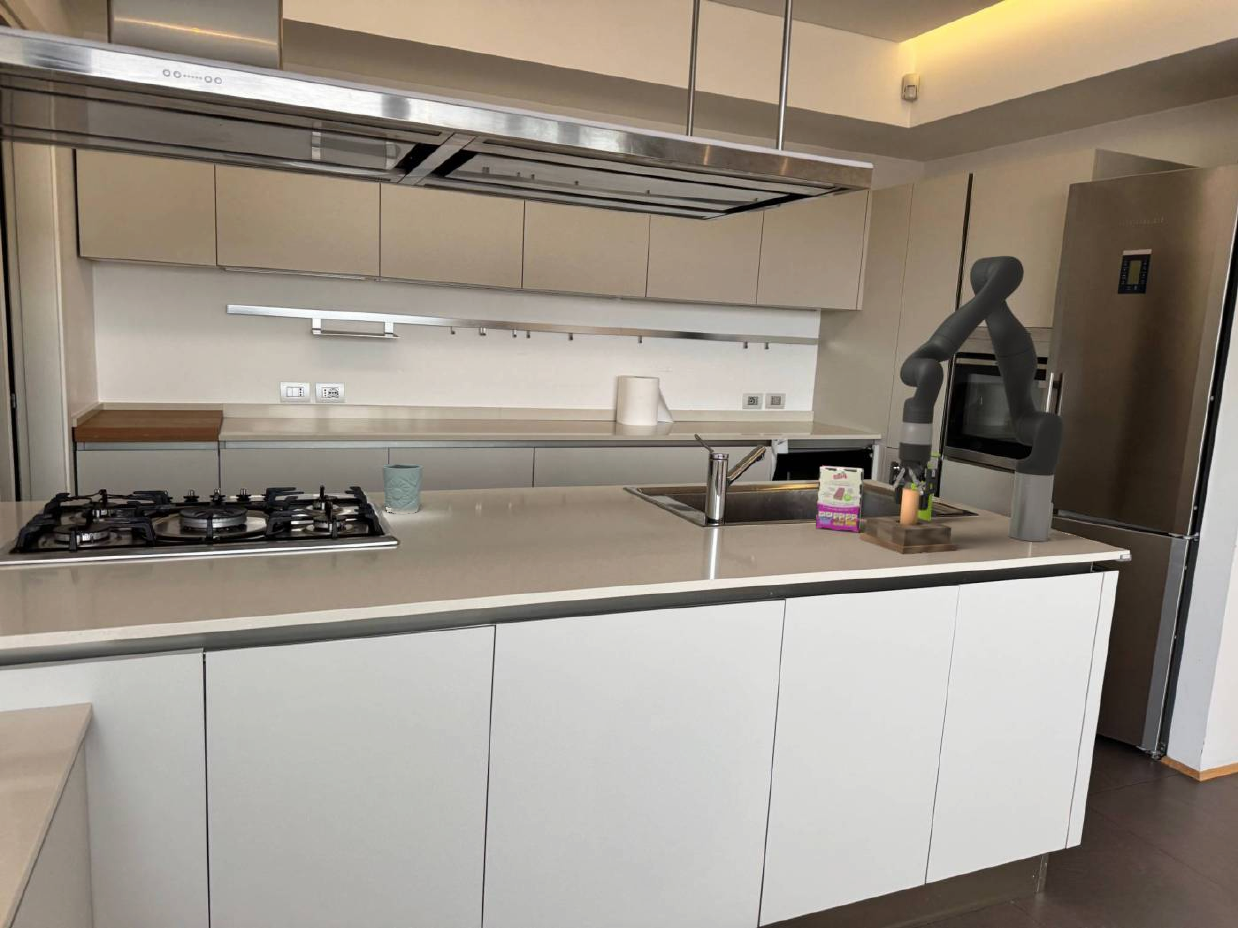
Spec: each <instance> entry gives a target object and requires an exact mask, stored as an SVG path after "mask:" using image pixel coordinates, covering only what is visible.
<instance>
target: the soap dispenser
mask: <svg viewBox="0 0 1238 928" xmlns="http://www.w3.org/2000/svg"><path fill="white" fill-rule="evenodd" d="M931 456H937V457H940V456H941V453H937V452H934V451H931ZM927 466H928V469H931V467H932V465H931V464H930V462H928V463H927ZM922 482H923V480H922ZM910 489H913V490H918V488H917V487H916V486H915V484H914V483H911V482H910ZM923 489H924V487H923ZM930 489H932V484H931V487H930ZM924 490H925V489H924ZM933 495H934V494H930V496H929V504H928V508H927V510H924V511H921V510H918V518H920V519H924V520H927V521H931V519H932V518H931V517H932V506H933Z"/></svg>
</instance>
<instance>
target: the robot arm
mask: <svg viewBox="0 0 1238 928" xmlns="http://www.w3.org/2000/svg"><path fill="white" fill-rule="evenodd" d="M1024 273H1025V270H1024V266H1023V264H1022V261H1021V260H1020V259H1019V258H1017V257H1015V256H1012V255H1000V256H990V257H989V256H987V257H982V258H979V259H977V260H976V261H974V263H973V264H972V265H971V268H970V273H969V281H970V286H971V288H972V291H973V295H974V296H973V297H972V298H971V299H970V300H969V301H967V302H966V303H965V304H963V305H962V306H961V307H959V308H958V309H956V310H955V311H954V312H953V313H951V314H950V315H948V317H946V318H945V320H943V322H941V323H940V325H939V326H938V328H937V329H935V331H934V333H933V334H932V335H931V336H930V338H929V339H928V340H927V341H926V342H924V343H923V344H922V345H920V346H919V347H918V348H917V349H916V350H915V351H913V352H912V353H910V355H909V356H907V358H906V359H905V360H904V362H903V363H902V365H901V366H900V371H899V377H900V380H901V382H902V384H904V385H905V386H908V387H910V388H911V387H912V388H916V389H915V393H914V395H913V396H912V397H908V398H906V399H905V401H904V403H903V410H902V422H901V426H900V432H899V443H898V444H899V445H898V456H897V457H898V459H899V460H897V461H896V460H893V461H891V462H890V468H889V475H888V485H890V486H893V488H894V493H893V495H894V496H893V501H894V502H893V503H894V504H895V505H902V494H903V489H905V487H906V485H907V484H908V483H910V484H911V483H914V484H915V486H916V487H917V488H918V490H919V493H920V495H919V504H918V510H921V511H924V510H927V508H928V504H929V496H930V494H933V495H934V494H937V490H938V471H939V470H938V468H930V469H928V466H927V463H930V461H931V460H932V455H931V452H933V451H932V450H933V440H934V439H933V437H934V426H933V425H934V413H935V412H934V411H935V405H936V402H937V401H938V397H939V395H940V392H941V389H942V386H943V382H944V377H945V376H944V375H945V371H944V367H943V365H942V363H943V362H947V361H950V360H951V359H952V358H953V357H954V356H955V355H956V354H957V352H958V351H959V350H960V348H961V347H962V346H963V344H964V343H966V341H967V340H968V338H970V336H971V335H972V334H973V332H974V331H975V330H976V329H977V328H978V327H979V325H981V324H982V323H983V322H985V325H986V328H987V333H988V335H989V338H990V341H991V344H992V349H993V353H994V356H995V361H996V364H997V367H998V370H999V373H1000V378H1001V380H1002V385H1003V388H1004V389H1003V390H1004V392H1005V397H1006V401H1007V407H1008V413H1009V419H1010V427H1011V429H1012V430H1011V431H1012V433H1013V436H1014V438H1015V439H1016V441H1017V442H1018V443H1020V444H1022V445H1023V446H1029V447H1032V448H1031V453H1030V455H1029V456H1026V457H1025V458H1021V459H1018V460H1017V461H1016V464H1015V470H1014V481H1013V488H1012V489H1013V491H1012V500H1011V506H1010V507H1011V508H1010V516H1009V525H1008V536H1009V537H1010V538H1012V539H1017V540H1020V541H1021V540H1023V541H1027V542H1029V541H1030V542H1046V541H1047V540H1050V539H1051V530H1052V523H1053V522H1052V521H1053V515H1054V514H1053V513H1054V511H1053V510H1054V504H1053V502H1052V498H1053V489H1054V480H1055V472H1056V468H1057V466H1058V464H1059V461H1060V456H1061V451H1062V446H1063V441H1064V430H1065V428H1064V422H1063V419H1062V418H1061V416H1060V415H1059V414H1057V413H1055V412H1051V411H1042V410H1040V411H1039V410H1037V409H1036V407H1035V404H1034V401H1033V395H1032V385H1033V382H1034V379H1035V376H1036V373H1037V370H1038V361H1039V360H1038V356H1037V353H1036V347H1035V344H1034V341H1033V338H1032V336H1031V334H1030V333H1029V331H1028V330H1027V329H1026V327H1025V326H1024V325H1023V324H1022V322H1021V321H1020V320H1019V319H1018V318H1017V317H1016V315H1014V313H1013V312H1012V311H1011V309H1010V306H1009V305H1008V302H1007V299H1008V298H1009V297H1010V296H1011V295H1012V294H1013V293H1014V292H1015V291H1016V290H1018V288H1019V287H1020V286H1021V284H1022V281H1023V279H1024ZM922 480H923V482H922ZM931 484H932V489H930V487H931ZM923 487H924V489H925V490H924V489H923Z"/></svg>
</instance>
